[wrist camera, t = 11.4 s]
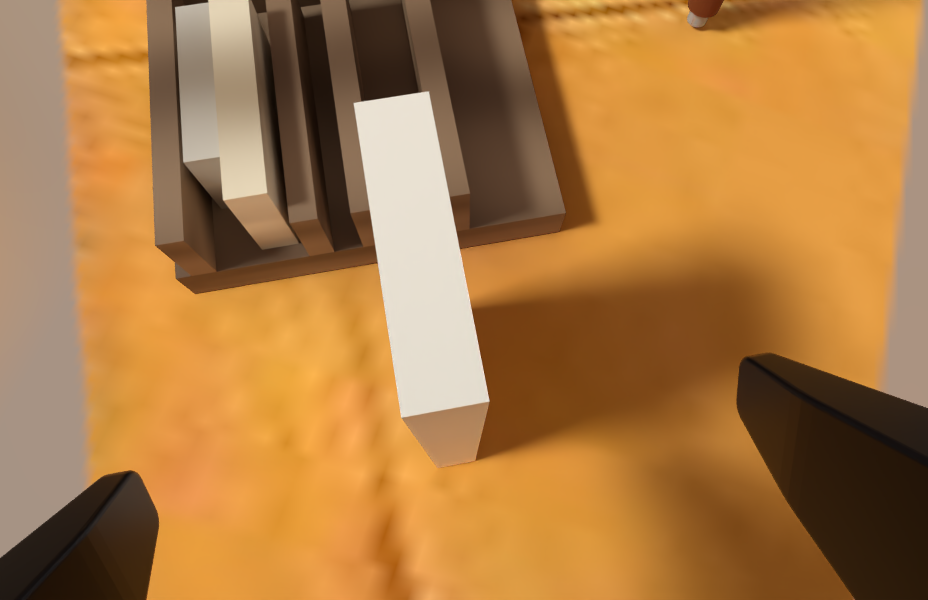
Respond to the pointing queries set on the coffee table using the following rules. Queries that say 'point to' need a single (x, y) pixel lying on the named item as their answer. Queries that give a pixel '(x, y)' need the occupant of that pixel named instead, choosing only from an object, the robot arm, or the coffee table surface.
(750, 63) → the coffee table surface
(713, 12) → the magnifying glass
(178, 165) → the offcut rack
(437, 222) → the white flat board
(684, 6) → the coffee table surface
